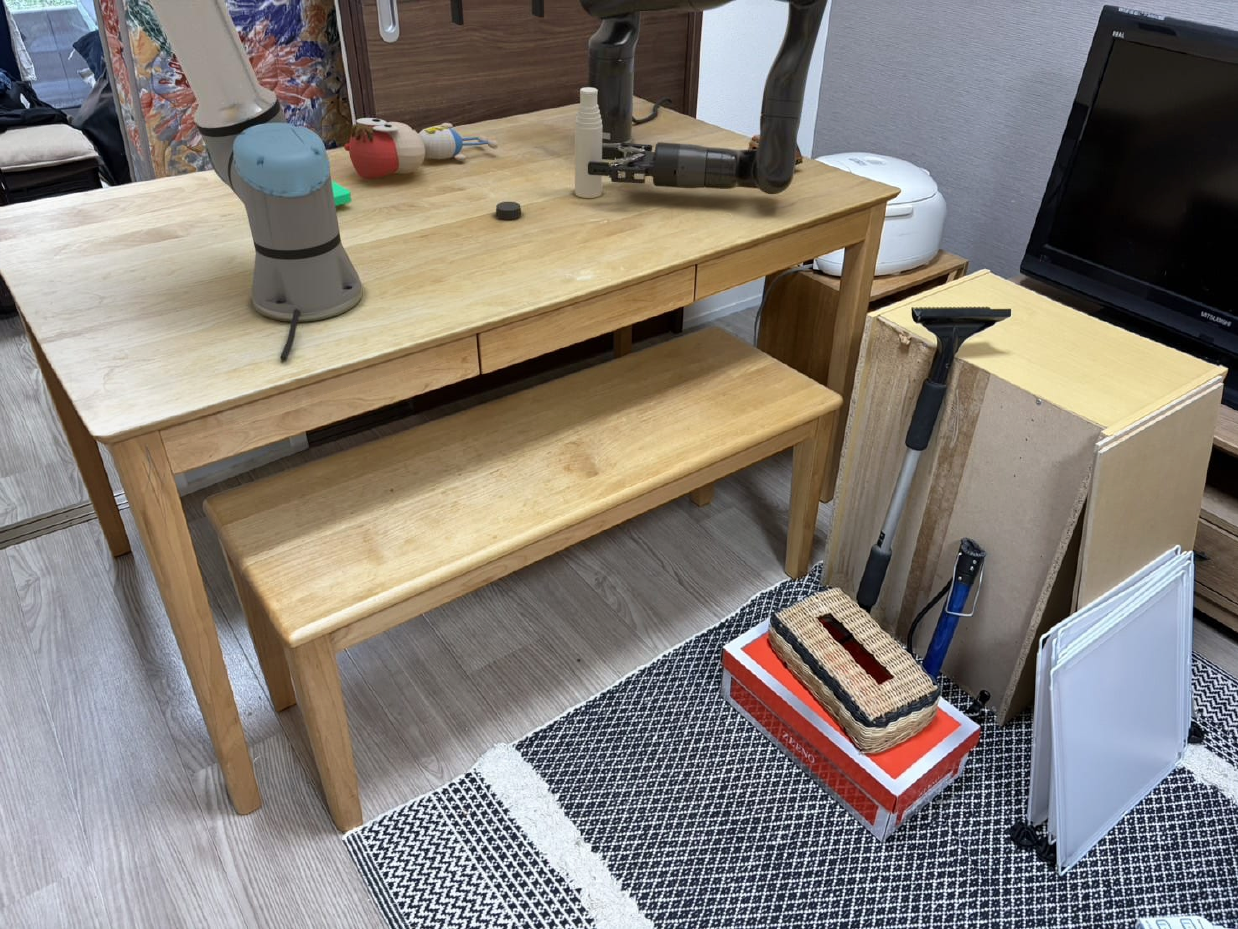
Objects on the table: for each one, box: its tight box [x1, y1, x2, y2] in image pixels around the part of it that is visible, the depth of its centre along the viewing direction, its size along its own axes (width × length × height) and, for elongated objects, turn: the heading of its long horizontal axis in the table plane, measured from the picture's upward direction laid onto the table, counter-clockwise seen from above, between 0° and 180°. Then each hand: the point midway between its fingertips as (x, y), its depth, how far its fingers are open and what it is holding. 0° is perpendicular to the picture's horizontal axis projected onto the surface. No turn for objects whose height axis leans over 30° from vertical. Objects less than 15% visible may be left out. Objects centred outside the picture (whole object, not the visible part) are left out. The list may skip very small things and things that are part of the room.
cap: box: [495, 201, 522, 221], centre depth 161 cm, size 4×4×2 cm
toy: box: [343, 117, 499, 180], centre depth 179 cm, size 18×10×30 cm
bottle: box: [574, 86, 603, 199], centre depth 166 cm, size 5×5×18 cm
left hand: (498, 19), depth 143 cm, fingers open, 13 cm apart
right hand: (591, 159), depth 167 cm, fingers open, 8 cm apart
